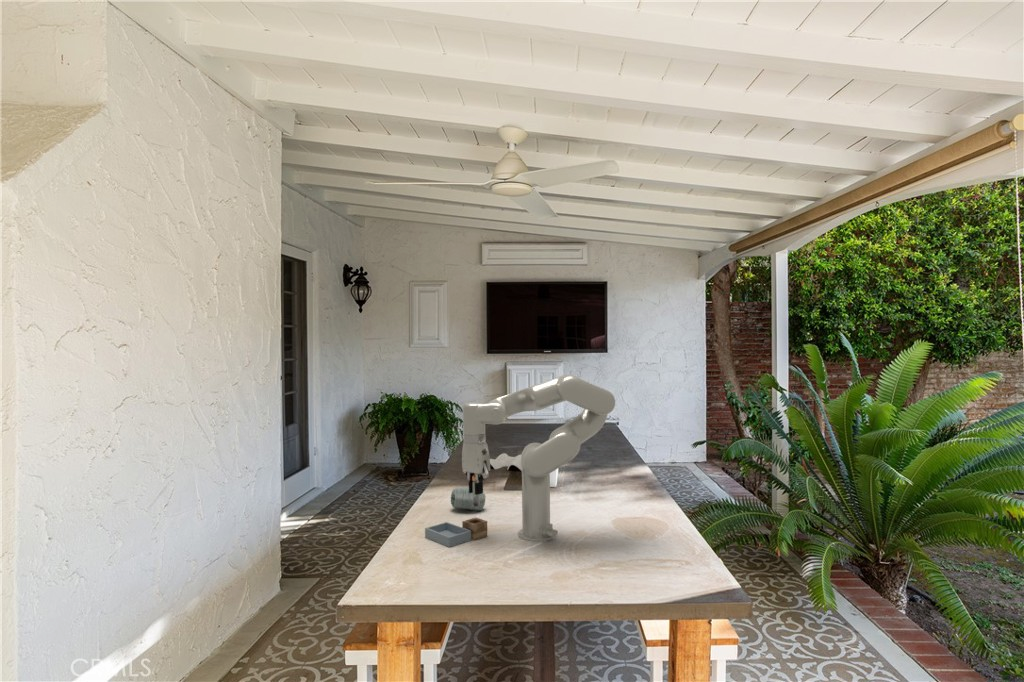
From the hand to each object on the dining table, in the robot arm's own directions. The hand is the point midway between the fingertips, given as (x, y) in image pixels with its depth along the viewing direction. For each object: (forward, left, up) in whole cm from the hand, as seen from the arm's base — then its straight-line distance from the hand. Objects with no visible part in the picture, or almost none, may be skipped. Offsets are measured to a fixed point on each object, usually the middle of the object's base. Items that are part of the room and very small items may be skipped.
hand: (476, 492), depth 191 cm
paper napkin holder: (+61, -74, -15) cm, 97 cm away
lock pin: (0, 0, -4) cm, 4 cm away
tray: (+5, +8, -15) cm, 18 cm away
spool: (+25, -15, -15) cm, 33 cm away
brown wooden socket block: (0, 0, -15) cm, 15 cm away
